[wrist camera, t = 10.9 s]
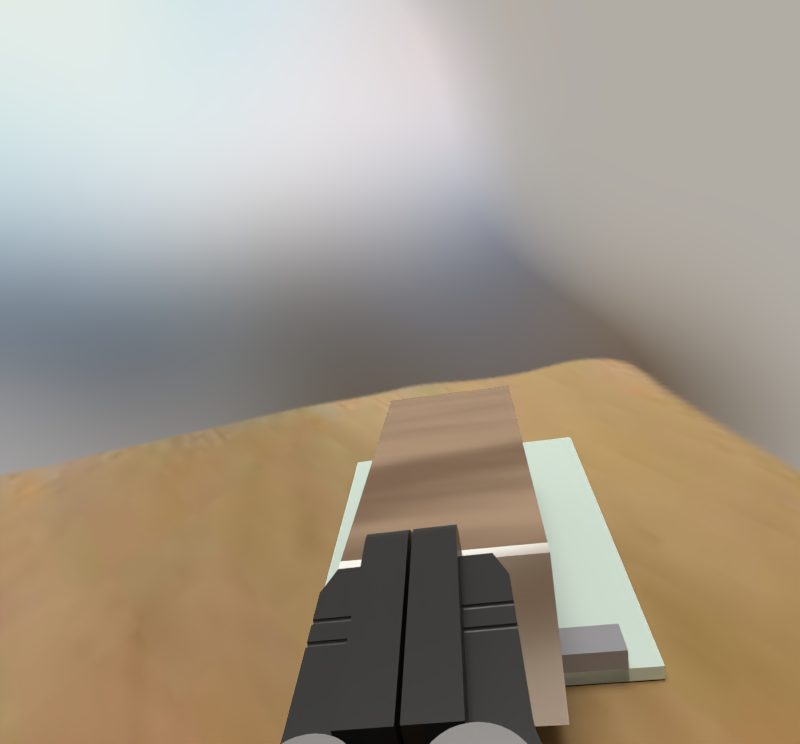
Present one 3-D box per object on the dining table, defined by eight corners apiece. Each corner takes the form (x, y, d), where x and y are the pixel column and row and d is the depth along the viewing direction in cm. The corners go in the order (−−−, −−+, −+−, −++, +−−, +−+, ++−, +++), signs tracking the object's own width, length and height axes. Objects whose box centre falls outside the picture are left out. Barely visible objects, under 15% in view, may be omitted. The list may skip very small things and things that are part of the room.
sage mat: (665, 678, 17) (664, 647, 17) (300, 703, 19) (291, 674, 18) (570, 445, 30) (569, 424, 30) (359, 470, 32) (355, 450, 31)
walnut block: (550, 552, 14) (508, 385, 25) (337, 571, 14) (391, 400, 26) (569, 724, 15) (521, 492, 26) (374, 734, 16) (410, 503, 27)
